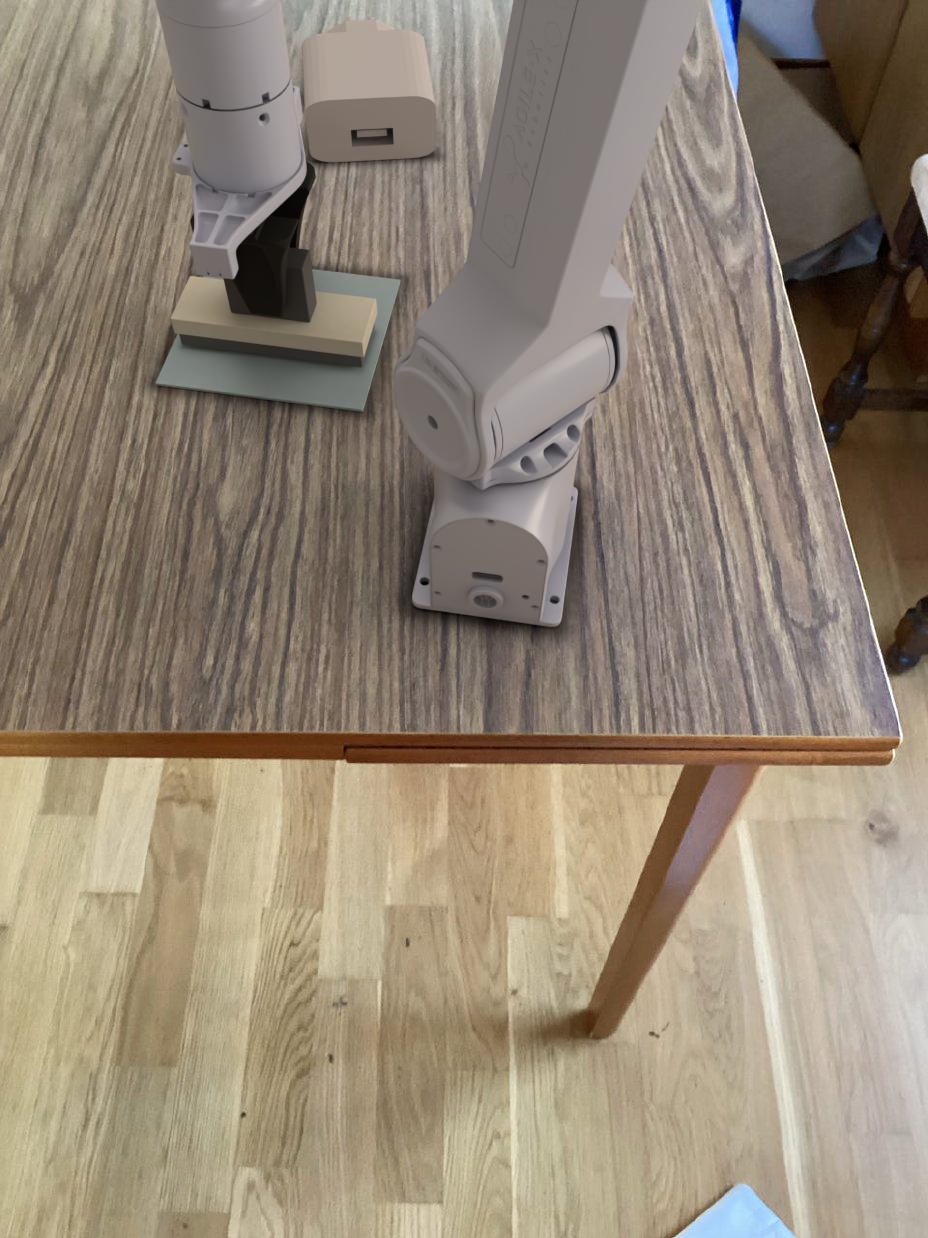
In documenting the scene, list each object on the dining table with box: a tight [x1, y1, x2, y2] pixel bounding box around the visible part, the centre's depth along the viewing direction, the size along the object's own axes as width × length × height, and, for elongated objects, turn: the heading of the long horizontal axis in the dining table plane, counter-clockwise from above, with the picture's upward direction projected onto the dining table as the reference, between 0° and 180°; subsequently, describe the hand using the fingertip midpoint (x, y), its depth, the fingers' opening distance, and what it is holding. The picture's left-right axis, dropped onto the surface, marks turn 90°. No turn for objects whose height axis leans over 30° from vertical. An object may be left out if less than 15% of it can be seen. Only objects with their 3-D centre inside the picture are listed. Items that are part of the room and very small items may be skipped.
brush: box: [170, 247, 377, 367], centre depth 62 cm, size 4×12×6 cm, turn 81°
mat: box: [155, 268, 401, 413], centre depth 66 cm, size 12×13×1 cm
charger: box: [301, 15, 437, 163], centre depth 77 cm, size 5×9×15 cm
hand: (272, 297), depth 62 cm, fingers closed on brush, 2 cm apart
